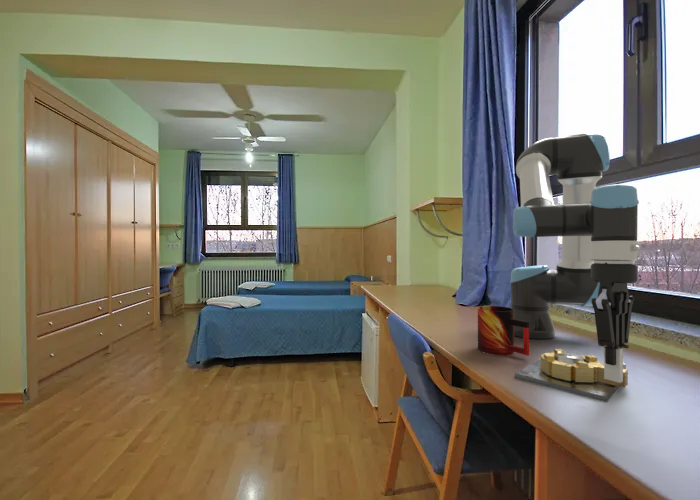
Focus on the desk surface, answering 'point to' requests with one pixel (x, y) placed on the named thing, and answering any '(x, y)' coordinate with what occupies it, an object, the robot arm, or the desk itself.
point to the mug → (500, 331)
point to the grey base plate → (581, 388)
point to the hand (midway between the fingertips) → (613, 379)
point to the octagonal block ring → (577, 369)
